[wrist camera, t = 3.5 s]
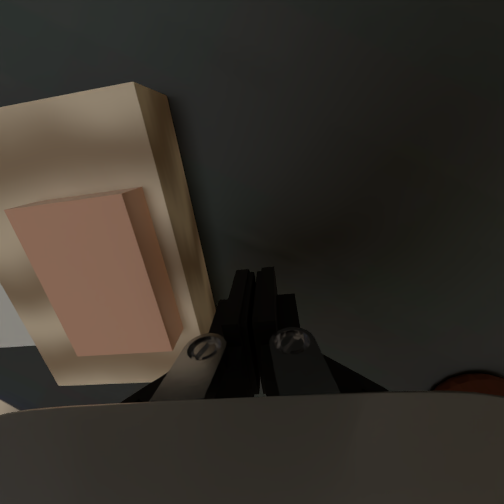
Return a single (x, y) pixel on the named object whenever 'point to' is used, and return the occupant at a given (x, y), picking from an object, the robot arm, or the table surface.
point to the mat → (11, 325)
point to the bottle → (474, 384)
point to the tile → (101, 271)
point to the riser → (95, 181)
